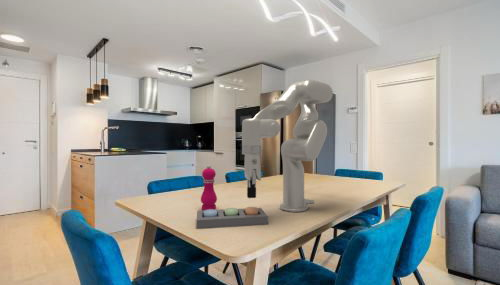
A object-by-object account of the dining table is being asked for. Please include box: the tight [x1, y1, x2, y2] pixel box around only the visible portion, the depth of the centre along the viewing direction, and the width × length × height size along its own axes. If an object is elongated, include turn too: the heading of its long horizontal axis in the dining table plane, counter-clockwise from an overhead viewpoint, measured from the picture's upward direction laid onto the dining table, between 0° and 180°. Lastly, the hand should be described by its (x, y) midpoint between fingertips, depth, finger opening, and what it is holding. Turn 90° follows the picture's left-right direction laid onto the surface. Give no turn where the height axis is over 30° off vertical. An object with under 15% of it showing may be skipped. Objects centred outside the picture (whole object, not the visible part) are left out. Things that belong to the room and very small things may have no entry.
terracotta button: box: [244, 206, 259, 215], centre depth 100 cm, size 5×5×3 cm
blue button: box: [203, 209, 218, 217], centre depth 97 cm, size 5×5×3 cm
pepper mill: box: [200, 164, 218, 211], centre depth 116 cm, size 7×7×20 cm
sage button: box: [224, 207, 239, 216], centre depth 99 cm, size 5×5×3 cm
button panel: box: [196, 207, 269, 230], centre depth 99 cm, size 26×12×3 cm, turn 101°
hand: (251, 197), depth 100 cm, fingers closed
